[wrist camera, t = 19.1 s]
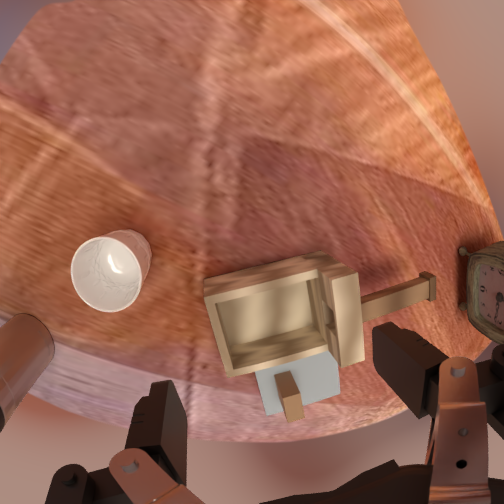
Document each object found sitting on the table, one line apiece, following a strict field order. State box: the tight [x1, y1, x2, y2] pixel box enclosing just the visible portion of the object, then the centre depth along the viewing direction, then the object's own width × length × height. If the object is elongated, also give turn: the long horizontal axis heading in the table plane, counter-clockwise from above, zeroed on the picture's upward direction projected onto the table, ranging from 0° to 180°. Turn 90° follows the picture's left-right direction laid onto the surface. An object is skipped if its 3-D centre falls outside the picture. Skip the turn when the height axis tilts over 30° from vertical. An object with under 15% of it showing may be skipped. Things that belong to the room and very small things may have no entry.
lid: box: [255, 351, 340, 423], centre depth 44 cm, size 13×11×7 cm
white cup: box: [71, 229, 152, 312], centre depth 34 cm, size 8×8×10 cm
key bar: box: [360, 271, 436, 323], centre depth 35 cm, size 12×3×2 cm, turn 102°
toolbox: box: [204, 250, 365, 378], centre depth 38 cm, size 16×11×11 cm
